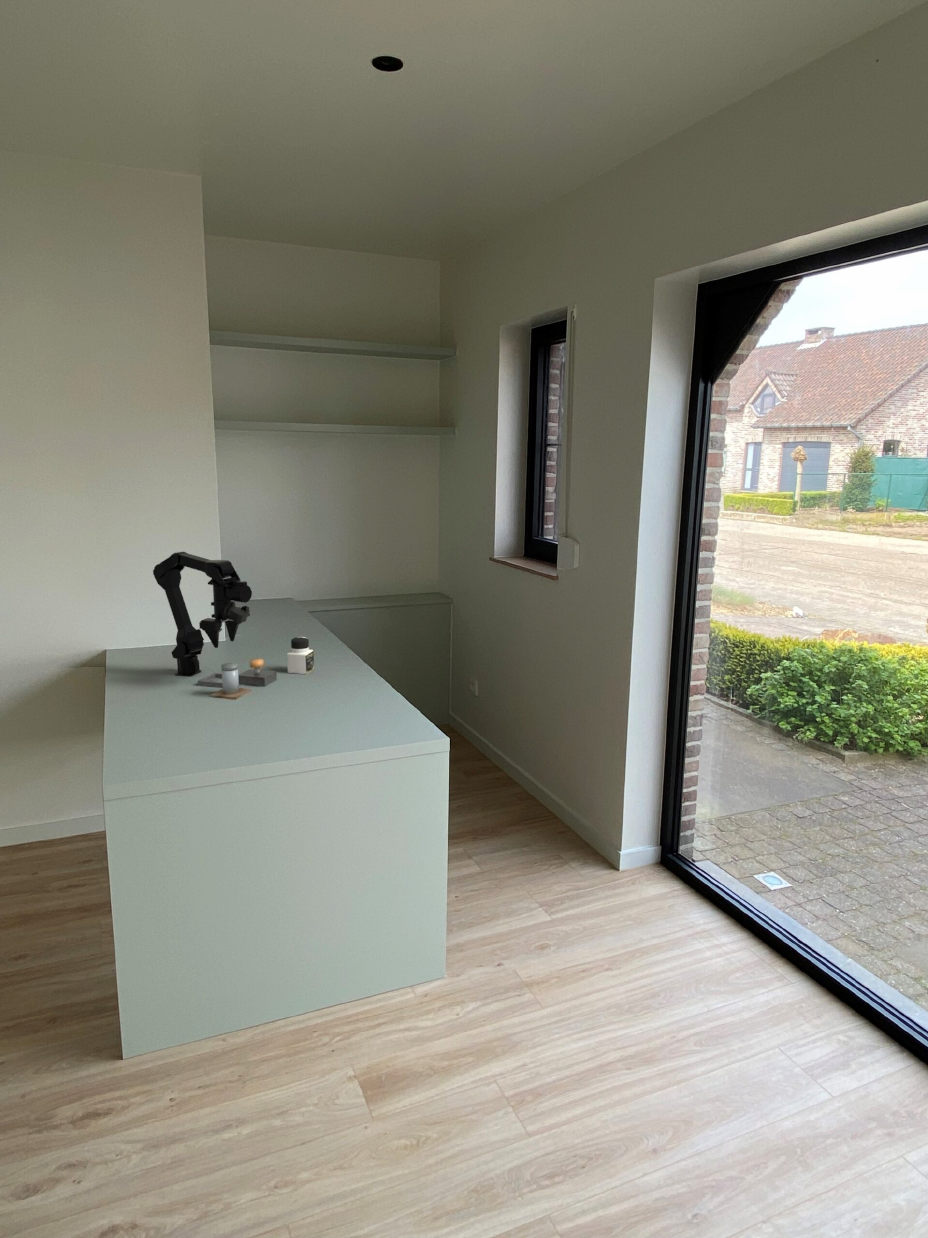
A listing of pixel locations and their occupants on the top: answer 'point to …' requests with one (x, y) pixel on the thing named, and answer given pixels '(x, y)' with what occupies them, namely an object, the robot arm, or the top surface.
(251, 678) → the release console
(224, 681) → the cylinder
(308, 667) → the medicine bottle
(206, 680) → the collar
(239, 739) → the top surface
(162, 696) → the top surface
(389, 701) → the top surface
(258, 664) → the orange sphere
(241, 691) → the walnut pad
